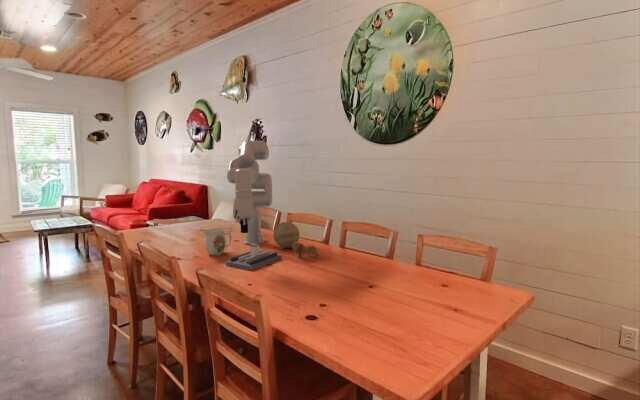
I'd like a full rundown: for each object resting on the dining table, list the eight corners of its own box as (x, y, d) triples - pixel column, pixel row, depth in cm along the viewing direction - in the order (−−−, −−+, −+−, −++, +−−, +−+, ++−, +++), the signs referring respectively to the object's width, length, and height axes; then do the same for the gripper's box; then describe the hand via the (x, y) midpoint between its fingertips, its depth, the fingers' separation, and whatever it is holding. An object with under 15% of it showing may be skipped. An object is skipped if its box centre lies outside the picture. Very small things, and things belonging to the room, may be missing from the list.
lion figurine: (293, 260, 195) (293, 243, 194) (291, 257, 201) (291, 241, 199) (321, 258, 200) (321, 241, 199) (317, 255, 205) (317, 239, 204)
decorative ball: (287, 252, 212) (287, 225, 210) (268, 248, 221) (267, 222, 219) (304, 246, 224) (304, 221, 222) (285, 243, 233) (285, 219, 231)
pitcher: (237, 252, 212) (236, 227, 210) (207, 258, 199) (206, 232, 197) (226, 248, 219) (225, 225, 218) (197, 254, 206) (196, 229, 205)
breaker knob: (254, 256, 195) (253, 243, 194) (259, 257, 194) (258, 243, 193) (250, 257, 192) (249, 244, 192) (254, 258, 191) (254, 245, 190)
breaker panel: (257, 254, 208) (257, 247, 207) (281, 258, 199) (281, 250, 199) (226, 265, 187) (225, 257, 187) (251, 270, 179) (250, 262, 178)
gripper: (248, 193, 191) (248, 229, 193) (226, 196, 178) (227, 234, 180) (259, 194, 187) (260, 230, 189) (238, 196, 175) (239, 236, 177)
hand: (244, 232), depth 185 cm, fingers closed
